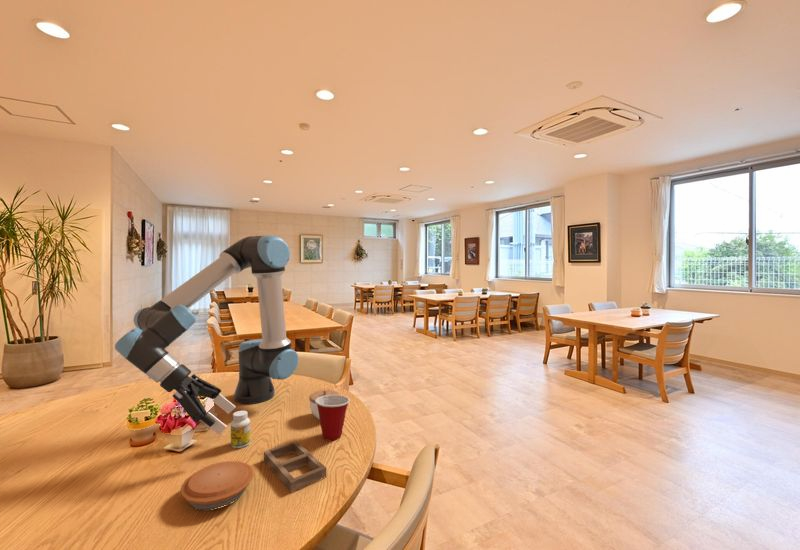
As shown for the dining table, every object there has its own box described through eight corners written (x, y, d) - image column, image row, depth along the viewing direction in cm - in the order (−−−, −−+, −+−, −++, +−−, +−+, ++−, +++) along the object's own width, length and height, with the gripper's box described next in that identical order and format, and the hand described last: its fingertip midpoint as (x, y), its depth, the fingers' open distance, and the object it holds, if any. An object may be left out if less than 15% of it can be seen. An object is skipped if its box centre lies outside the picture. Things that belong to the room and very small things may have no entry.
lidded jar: (343, 410, 132) (343, 386, 131) (335, 424, 121) (335, 397, 121) (315, 409, 133) (315, 384, 132) (304, 422, 122) (304, 395, 122)
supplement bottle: (254, 441, 109) (254, 410, 108) (241, 450, 104) (241, 418, 103) (239, 438, 110) (239, 408, 110) (226, 447, 105) (226, 415, 105)
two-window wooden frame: (263, 460, 99) (263, 451, 99) (296, 448, 105) (296, 440, 105) (291, 492, 85) (291, 482, 85) (326, 477, 91) (326, 467, 91)
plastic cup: (355, 430, 116) (355, 395, 116) (339, 447, 106) (339, 407, 106) (326, 425, 120) (326, 390, 119) (308, 440, 110) (308, 402, 109)
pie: (174, 526, 74) (174, 503, 74) (186, 483, 88) (186, 463, 88) (254, 507, 80) (254, 485, 80) (253, 469, 95) (253, 451, 94)
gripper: (174, 369, 112) (226, 412, 116) (139, 400, 88) (207, 451, 92) (193, 352, 113) (244, 394, 118) (164, 377, 89) (229, 429, 94)
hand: (228, 419), depth 105 cm, fingers open, 13 cm apart
